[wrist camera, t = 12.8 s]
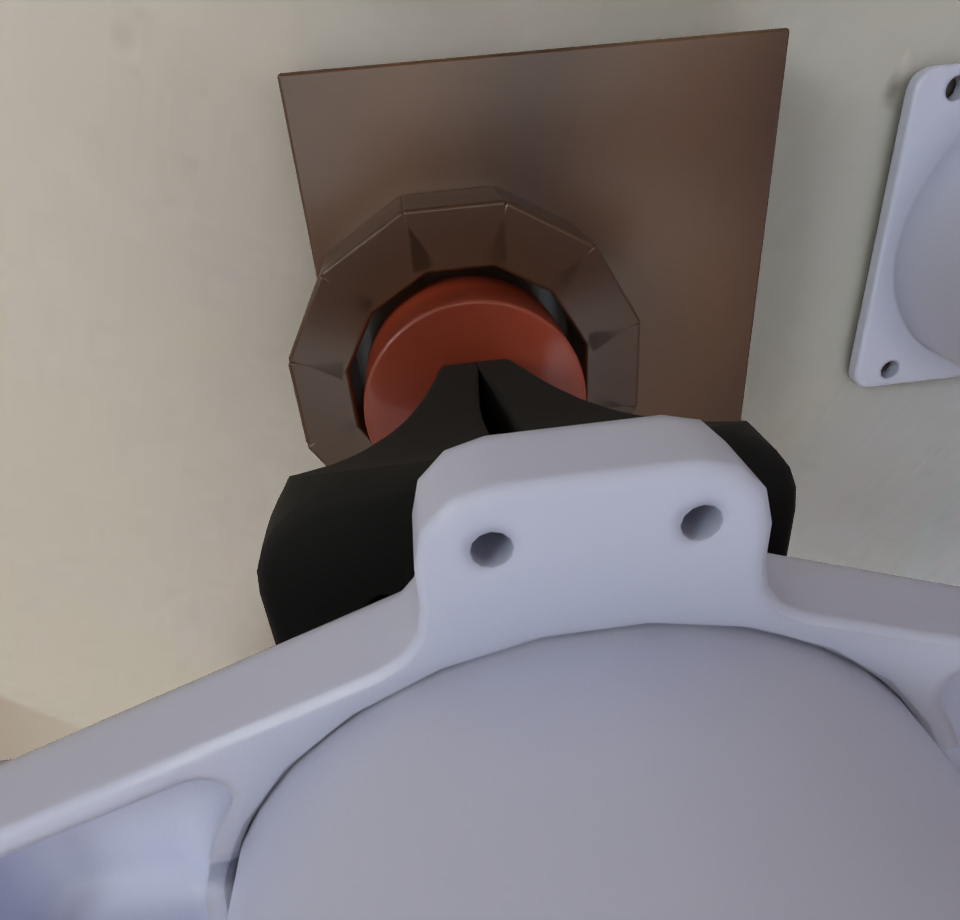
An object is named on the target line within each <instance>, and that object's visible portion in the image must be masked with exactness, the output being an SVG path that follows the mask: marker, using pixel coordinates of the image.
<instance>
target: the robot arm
mask: <svg viewBox="0 0 960 920" xmlns="http://www.w3.org/2000/svg"><path fill="white" fill-rule="evenodd" d="M953 78H954V79H955V80H956V87H955V89H954V92H953V94H952V95H951V96H950V97H949V98H948V99H947V97H946V96H945V91H946V87H947V85H948V83H949V82H950V81H951V80H952V79H953ZM888 362H890V365H889V367H888V369H886V370H885V371H884V372H881V369H882V367H883V366H884V365H885V364H886V363H888ZM959 376H960V63H951V64H941V65H931V66H928V67H925V68H922V69H921V70H920V71H918V72H917V73H916V74H915V75H914V76H913V78H912V79H911V80H910V82H909V84H908V86H907V89H906V92H905V96H904V101H903V106H902V111H901V116H900V121H899V126H898V131H897V136H896V140H895V145H894V150H893V155H892V160H891V165H890V170H889V175H888V179H887V184H886V189H885V194H884V199H883V204H882V209H881V214H880V219H879V223H878V228H877V233H876V238H875V243H874V248H873V253H872V258H871V263H870V267H869V272H868V277H867V282H866V287H865V292H864V297H863V302H862V306H861V311H860V316H859V321H858V326H857V331H856V336H855V341H854V346H853V350H852V355H851V360H850V365H849V377H850V379H851V380H852V381H853V382H855V383H856V384H858V385H859V386H861V387H876V386H885V385H893V384H901V383H909V382H918V381H926V380H934V379H943V378H951V377H959ZM795 503H796V486H795V482H794V479H793V476H792V473H791V470H790V467H789V466H788V465H787V463H786V462H785V461H784V459H783V458H782V457H781V456H780V454H779V453H778V452H777V451H776V450H775V449H774V448H773V446H772V445H771V444H770V443H769V442H768V441H767V440H766V439H765V438H764V437H763V436H762V435H761V434H760V433H759V432H758V431H757V430H756V429H755V428H754V427H753V426H751V425H750V424H749V423H748V422H747V421H711V422H702V421H701V420H698V419H691V418H683V417H675V416H667V415H655V416H647V417H646V416H641V415H635V414H630V413H625V412H621V411H617V410H613V409H609V408H606V407H603V406H600V405H597V404H594V403H591V402H588V401H585V400H583V399H580V398H578V397H575V396H573V395H571V394H569V393H567V392H565V391H562V390H560V389H558V388H556V387H554V386H553V385H551V384H549V383H547V382H545V381H543V380H542V379H540V378H538V377H537V376H535V375H533V374H532V373H530V372H528V371H527V370H525V369H524V368H522V367H520V366H519V365H517V364H516V363H514V362H512V361H510V360H509V359H506V358H505V359H496V360H487V361H479V362H475V363H474V362H470V363H461V364H452V365H444V366H442V367H441V368H440V369H439V371H438V372H437V375H436V378H435V380H434V382H433V383H432V385H431V387H430V389H429V390H428V392H427V393H426V395H425V396H424V398H423V400H422V401H421V402H420V404H419V405H418V406H417V408H416V409H415V410H414V411H413V413H412V414H411V415H410V416H409V417H408V419H407V420H405V421H404V422H403V423H402V424H401V425H400V426H399V427H398V428H396V429H395V430H394V431H393V432H392V433H390V434H389V435H388V436H386V437H385V438H383V439H381V440H380V441H378V442H377V443H375V444H374V445H372V446H370V447H369V448H367V449H366V450H364V451H362V452H360V453H358V454H356V455H354V456H352V457H349V458H347V459H345V460H342V461H340V462H337V463H335V464H332V465H329V466H326V467H323V468H319V469H316V470H312V471H308V472H305V473H301V474H298V475H293V476H290V477H289V479H288V481H287V483H286V485H285V487H284V489H283V491H282V493H281V495H280V497H279V499H278V501H277V503H276V506H275V508H274V510H273V513H272V515H271V518H270V521H269V524H268V527H267V530H266V534H265V538H264V542H263V546H262V550H261V555H260V560H259V564H258V569H257V575H258V582H259V589H260V595H261V598H262V601H263V605H264V608H265V611H266V614H267V617H268V621H269V624H270V627H271V630H272V634H273V637H274V640H275V643H276V646H273V647H271V648H269V649H266V650H264V651H262V652H259V653H257V654H255V655H252V656H250V657H248V658H245V659H243V660H241V661H239V662H236V663H234V664H232V665H229V666H227V667H225V668H222V669H220V670H218V671H215V672H213V673H211V674H209V675H206V676H204V677H202V678H199V679H197V680H195V681H192V682H190V683H188V684H185V685H183V686H181V687H178V688H176V689H174V690H172V691H169V692H167V693H165V694H162V695H160V696H158V697H155V698H153V699H151V700H148V701H146V702H144V703H142V704H139V705H137V706H135V707H132V708H130V709H128V710H125V711H123V712H121V713H118V714H116V715H114V716H111V717H109V718H107V719H105V720H102V721H100V722H98V723H95V724H93V725H91V726H88V727H86V728H84V729H81V730H79V731H77V732H75V733H73V734H70V735H68V736H65V737H63V738H61V739H58V740H56V741H54V742H51V743H49V744H47V745H45V746H42V747H40V748H38V749H35V750H33V751H31V752H28V753H26V754H24V755H21V756H19V757H17V758H15V759H10V760H3V761H0V920H960V587H957V586H952V585H946V584H940V583H935V582H929V581H923V580H918V579H912V578H906V577H901V576H895V575H889V574H884V573H878V572H872V571H867V570H861V569H856V568H850V567H844V566H839V565H833V564H827V563H822V562H816V561H810V560H805V559H799V558H793V557H788V556H787V551H788V546H789V540H790V535H791V529H792V524H793V518H794V513H795Z"/></svg>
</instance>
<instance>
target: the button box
mask: <svg viewBox="0 0 960 920" xmlns="http://www.w3.org/2000/svg"><path fill="white" fill-rule="evenodd" d="M788 38H789V29H788V28H780V29H768V30H757V31H746V32H735V33H724V34H713V35H702V36H691V37H679V38H668V39H657V40H646V41H635V42H624V43H613V44H601V45H590V46H579V47H568V48H557V49H546V50H535V51H524V52H512V53H501V54H490V55H479V56H468V57H457V58H446V59H434V60H423V61H412V62H401V63H390V64H379V65H368V66H357V67H345V68H334V69H323V70H312V71H301V72H290V73H280V74H279V75H278V82H279V87H280V92H281V97H282V102H283V107H284V113H285V118H286V123H287V128H288V133H289V138H290V143H291V148H292V153H293V158H294V163H295V168H296V173H297V179H298V184H299V189H300V194H301V199H302V204H303V209H304V214H305V219H306V224H307V229H308V234H309V239H310V245H311V250H312V255H313V260H314V265H315V270H316V275H317V281H316V284H315V287H314V289H313V292H312V295H311V298H310V300H309V303H308V306H307V309H306V311H305V314H304V317H303V320H302V322H301V325H300V328H299V331H298V333H297V336H296V339H295V342H294V345H293V347H292V350H291V353H290V356H289V369H290V374H291V378H292V382H293V386H294V391H295V395H296V399H297V404H298V408H299V412H300V417H301V421H302V425H303V429H304V434H305V438H306V442H307V443H308V447H309V449H310V450H311V451H312V452H313V453H314V454H315V455H316V456H317V457H318V458H319V459H320V460H321V461H322V462H323V463H324V464H325V465H326V466H329V465H332V464H335V463H337V462H340V461H342V460H345V459H347V458H349V457H352V456H354V455H356V454H358V453H360V452H362V451H364V450H366V449H367V448H369V447H370V446H372V442H371V440H370V437H369V435H368V431H367V427H366V424H365V417H364V391H365V380H366V368H367V360H368V355H369V350H370V347H371V344H372V341H373V338H374V336H375V334H376V332H377V330H378V328H379V327H380V325H381V324H382V322H383V321H384V319H385V318H386V316H387V315H388V314H389V313H390V312H391V311H392V310H393V308H394V307H395V306H396V305H397V304H399V303H400V302H401V301H402V300H403V299H405V298H406V297H407V296H408V295H410V294H412V293H413V292H415V291H416V290H418V289H420V288H422V287H424V286H426V285H428V284H431V283H433V282H436V281H440V280H443V279H446V278H452V277H458V276H483V277H490V278H495V279H499V280H503V281H505V282H508V283H511V284H513V285H515V286H517V287H519V288H521V289H523V290H525V291H526V292H528V293H529V294H530V295H532V296H533V297H535V298H536V299H537V300H538V301H539V302H540V303H541V304H542V305H543V306H544V307H545V308H546V309H547V310H548V311H549V313H550V314H551V315H552V317H553V318H554V319H555V321H556V323H557V324H558V326H559V327H560V329H561V330H562V332H563V334H564V335H565V337H566V338H567V340H568V341H569V343H570V345H571V346H572V348H573V350H574V352H575V353H576V355H577V357H578V360H579V362H580V365H581V368H582V371H583V375H584V380H585V388H586V401H588V402H591V403H594V404H597V405H600V406H603V407H606V408H609V409H613V410H617V411H621V412H625V413H630V414H635V415H641V416H646V417H647V416H655V415H667V416H675V417H683V418H691V419H698V420H701V421H702V422H711V421H741V413H742V405H743V397H744V389H745V381H746V373H747V365H748V357H749V349H750V341H751V333H752V325H753V317H754V309H755V301H756V293H757V285H758V277H759V269H760V261H761V253H762V245H763V237H764V229H765V221H766V213H767V205H768V197H769V189H770V181H771V173H772V165H773V157H774V150H775V142H776V134H777V126H778V118H779V110H780V102H781V94H782V86H783V78H784V70H785V62H786V54H787V46H788Z"/></svg>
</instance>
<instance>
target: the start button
mask: <svg viewBox="0 0 960 920" xmlns="http://www.w3.org/2000/svg"><path fill="white" fill-rule="evenodd" d="M505 358H506V359H509V360H510V361H512V362H514V363H516V364H517V365H519V366H520V367H522V368H524V369H525V370H527V371H528V372H530V373H532V374H533V375H535V376H537V377H538V378H540V379H542V380H543V381H545V382H547V383H549V384H551V385H553V386H554V387H556V388H558V389H560V390H562V391H565V392H567V393H569V394H571V395H573V396H575V397H578V398H580V399H583V400H585V401H586V388H585V380H584V375H583V371H582V368H581V365H580V362H579V360H578V357H577V355H576V353H575V352H574V350H573V348H572V346H571V345H570V343H569V341H568V340H567V338H566V337H565V335H564V334H563V332H562V330H561V329H560V327H559V326H558V324H557V323H556V321H555V319H554V318H553V317H552V315H551V314H550V313H549V311H548V310H547V309H546V308H545V307H544V306H543V305H542V304H541V303H540V302H539V301H538V300H537V299H536V298H535V297H533V296H532V295H530V294H529V293H528V292H526V291H525V290H523V289H521V288H519V287H517V286H515V285H513V284H511V283H508V282H505V281H503V280H499V279H495V278H490V277H483V276H458V277H452V278H446V279H443V280H440V281H436V282H433V283H431V284H428V285H426V286H424V287H422V288H420V289H418V290H416V291H415V292H413V293H412V294H410V295H408V296H407V297H406V298H405V299H403V300H402V301H401V302H400V303H399V304H397V305H396V306H395V307H394V308H393V310H392V311H391V312H390V313H389V314H388V315H387V316H386V318H385V319H384V321H383V322H382V324H381V325H380V327H379V328H378V330H377V332H376V334H375V336H374V338H373V341H372V344H371V347H370V350H369V355H368V360H367V368H366V380H365V391H364V417H365V424H366V427H367V431H368V435H369V437H370V440H371V442H372V445H374V444H375V443H377V442H378V441H380V440H381V439H383V438H385V437H386V436H388V435H389V434H390V433H392V432H393V431H394V430H395V429H396V428H398V427H399V426H400V425H401V424H402V423H403V422H404V421H405V420H407V419H408V417H409V416H410V415H411V414H412V413H413V411H414V410H415V409H416V408H417V406H418V405H419V404H420V402H421V401H422V400H423V398H424V396H425V395H426V393H427V392H428V390H429V389H430V387H431V385H432V383H433V382H434V380H435V378H436V375H437V372H438V371H439V369H440V368H441V367H442V366H444V365H452V364H461V363H470V362H474V363H475V362H479V361H487V360H496V359H505Z"/></svg>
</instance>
